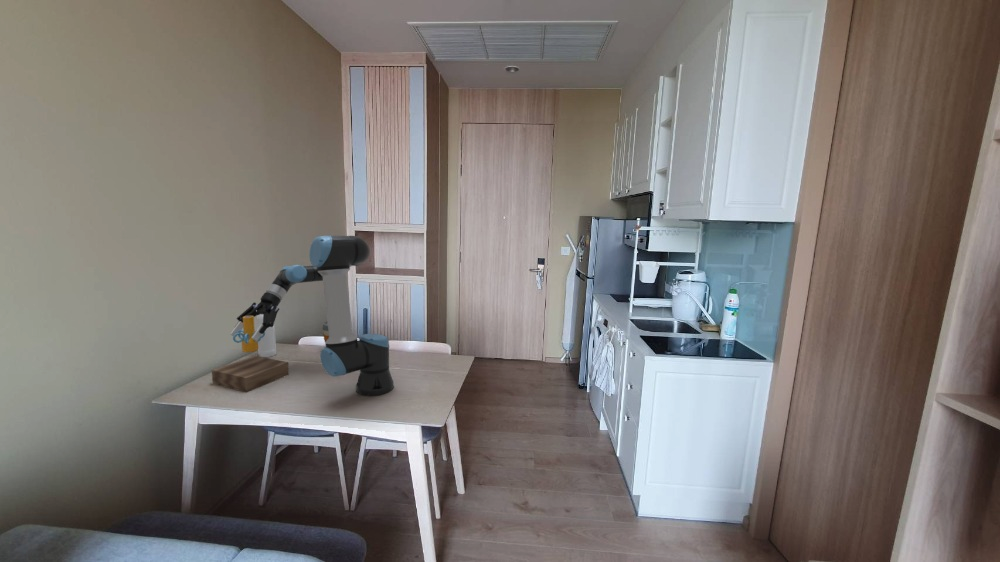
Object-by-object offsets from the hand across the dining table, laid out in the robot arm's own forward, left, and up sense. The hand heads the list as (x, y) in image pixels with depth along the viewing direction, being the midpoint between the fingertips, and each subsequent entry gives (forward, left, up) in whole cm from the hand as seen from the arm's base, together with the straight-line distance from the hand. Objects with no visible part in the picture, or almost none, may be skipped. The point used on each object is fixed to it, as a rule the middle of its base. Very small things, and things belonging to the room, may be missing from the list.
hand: (243, 337), depth 167 cm
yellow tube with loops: (0, -3, -7) cm, 7 cm away
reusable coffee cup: (-4, -49, -20) cm, 52 cm away
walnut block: (0, -3, -19) cm, 20 cm away
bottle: (+21, -28, -20) cm, 40 cm away
